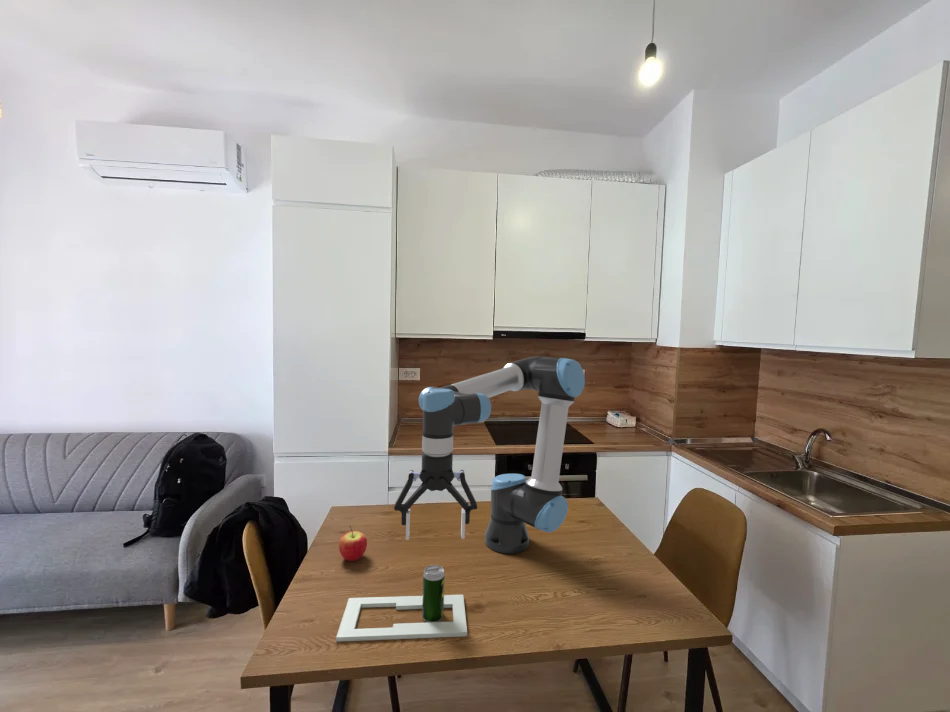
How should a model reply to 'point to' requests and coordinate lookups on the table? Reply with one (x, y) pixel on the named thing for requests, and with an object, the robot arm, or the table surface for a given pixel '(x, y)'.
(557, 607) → the table surface
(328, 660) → the table surface
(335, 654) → the table surface
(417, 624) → the keyhole board
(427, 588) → the beer can
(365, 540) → the apple
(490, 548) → the robot arm
